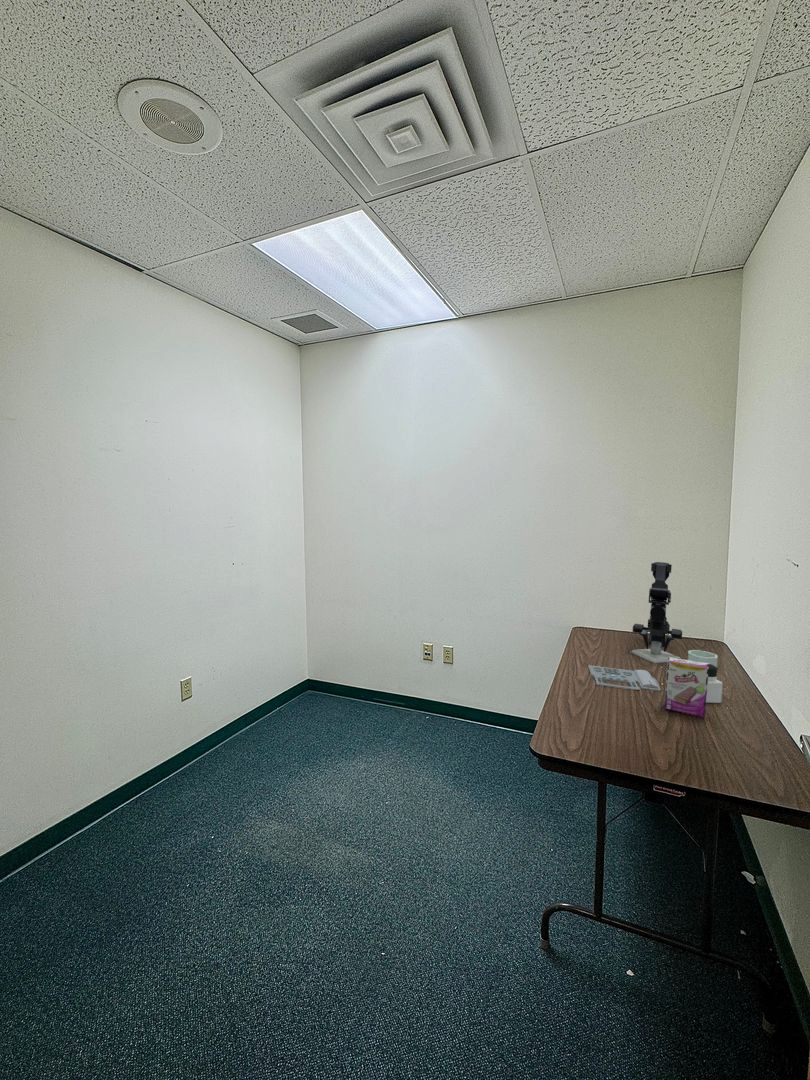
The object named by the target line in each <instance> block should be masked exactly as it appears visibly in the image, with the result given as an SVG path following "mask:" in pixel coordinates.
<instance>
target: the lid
mask: <svg viewBox="0 0 810 1080" xmlns="http://www.w3.org/2000/svg"><path fill="white" fill-rule="evenodd" d="M662 647H663V646H662V643H661V642H657V641H651V644H650V648H648V649H647V648H641V649H639V648H638V649H637V648H636V649H632V650H631V651H632V652H633V653H636V654H638V655H640V656H642V657H644V658H647V659H649V660H651V661H653V662H660V661H668V657H672V658H678V659H681V657H680V656H677V655H674V654H673V653H669V652H668V651H665V652H664V649H663V650H662ZM633 653H632V654H633ZM638 655H637V656H638ZM640 656H639V657H640ZM642 657H641V658H642ZM644 658H643V659H644ZM651 661H650V662H651ZM653 662H652V663H653Z"/></svg>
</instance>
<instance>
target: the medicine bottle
mask: <svg viewBox="0 0 810 1080" xmlns="http://www.w3.org/2000/svg"><path fill="white" fill-rule="evenodd" d="M707 664H708V667H709V672H708V683H707V696H706V704H710V703H711V704H721V703H722V700H723V698H722V697H723V685H724V683H723V682H722V681H720V680H718V679H717V675H718V667H717V668H716V666H714V665H712V664H709V663H707Z"/></svg>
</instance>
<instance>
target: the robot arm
mask: <svg viewBox="0 0 810 1080" xmlns="http://www.w3.org/2000/svg"><path fill="white" fill-rule="evenodd" d="M650 565H651V566H650V567H651V568H650V572H652V577H653V578H654V582H652V583H651V587H650V588H649V591H648V592H649V593H648V603H649V604H650V611H649V618H648V619H647V626H644V624H640V623H633V626H632V633H636V634H637V633H638V634H639V635H640V636H642V638H643V640H644V643H645V647H646V649H649V645H651V641H657V642H661V643H662V646H661V647H664V648H663V651H664V652H667V651H666V650H667V649H668V646H669V644H670V642H671V641H672V640H673V641H674V640H675V639H678V640H682V639H683V630H682V629H678V628H671V630H670V627H671V626H670V625H671V624H670V623H669V621H667V616H666V614H667V606H669V605H670V603H671V602H672V600H671V599H672V593H671V590H670V589H669V585H668V584H667V583H666V582H667V580H668V579H669V577H670V574H672V564H670V563H669V562H662V561H660V562H659V561H657V562H652V563H651V564H650Z"/></svg>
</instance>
